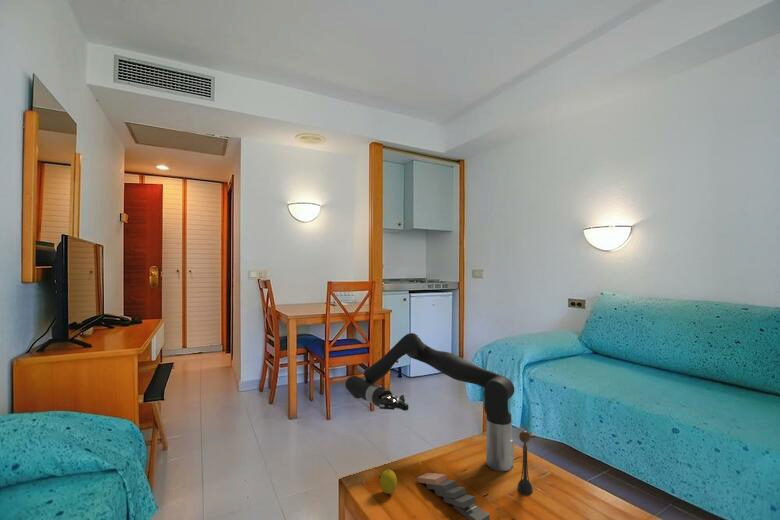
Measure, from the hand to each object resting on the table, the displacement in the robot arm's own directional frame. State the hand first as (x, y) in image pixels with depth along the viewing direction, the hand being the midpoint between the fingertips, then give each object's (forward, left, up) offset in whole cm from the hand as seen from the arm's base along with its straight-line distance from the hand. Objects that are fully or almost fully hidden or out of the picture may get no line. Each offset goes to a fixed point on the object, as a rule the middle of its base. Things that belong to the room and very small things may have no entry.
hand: (407, 407), depth 137 cm
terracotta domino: (-2, +9, -22) cm, 24 cm away
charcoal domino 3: (-5, +22, -22) cm, 31 cm away
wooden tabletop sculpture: (-31, +28, -23) cm, 48 cm away
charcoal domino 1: (-3, +13, -22) cm, 26 cm away
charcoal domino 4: (-6, +25, -22) cm, 34 cm away
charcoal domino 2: (-4, +17, -22) cm, 28 cm away
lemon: (+13, +11, -23) cm, 28 cm away
